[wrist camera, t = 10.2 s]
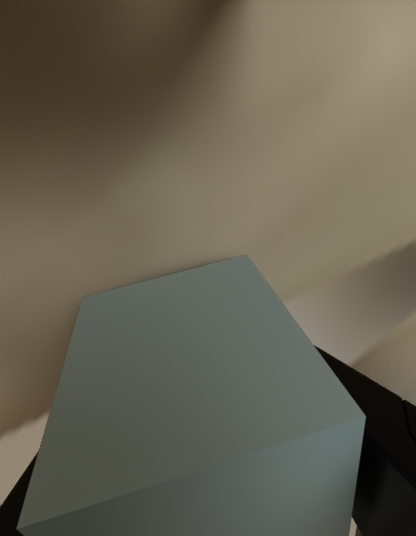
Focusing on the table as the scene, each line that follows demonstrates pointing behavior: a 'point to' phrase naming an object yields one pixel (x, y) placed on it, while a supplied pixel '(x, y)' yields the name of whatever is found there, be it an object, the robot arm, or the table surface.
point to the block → (195, 417)
